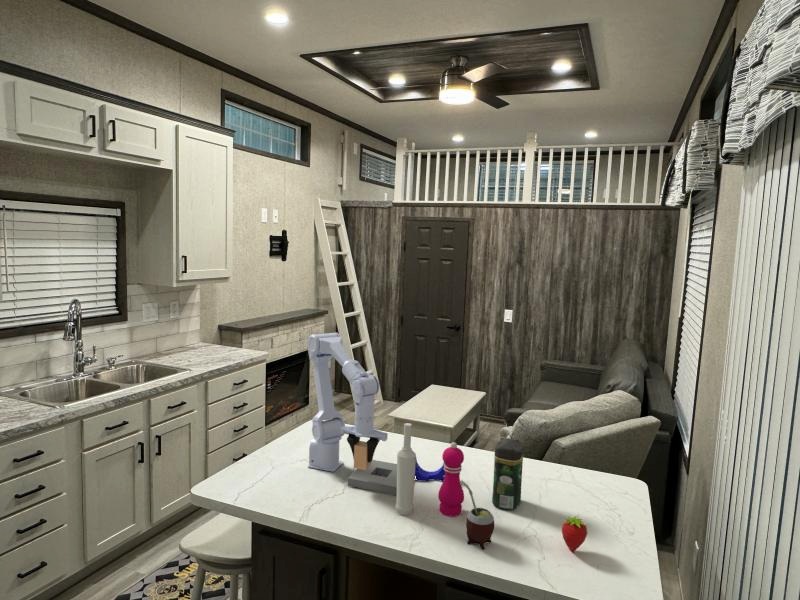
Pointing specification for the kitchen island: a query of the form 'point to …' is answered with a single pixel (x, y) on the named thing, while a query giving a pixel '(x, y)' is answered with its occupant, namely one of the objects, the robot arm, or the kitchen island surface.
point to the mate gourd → (479, 524)
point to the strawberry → (574, 533)
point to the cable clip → (429, 473)
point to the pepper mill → (451, 482)
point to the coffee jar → (507, 474)
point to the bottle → (405, 475)
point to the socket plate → (376, 477)
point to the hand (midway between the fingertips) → (363, 460)
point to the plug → (361, 456)
